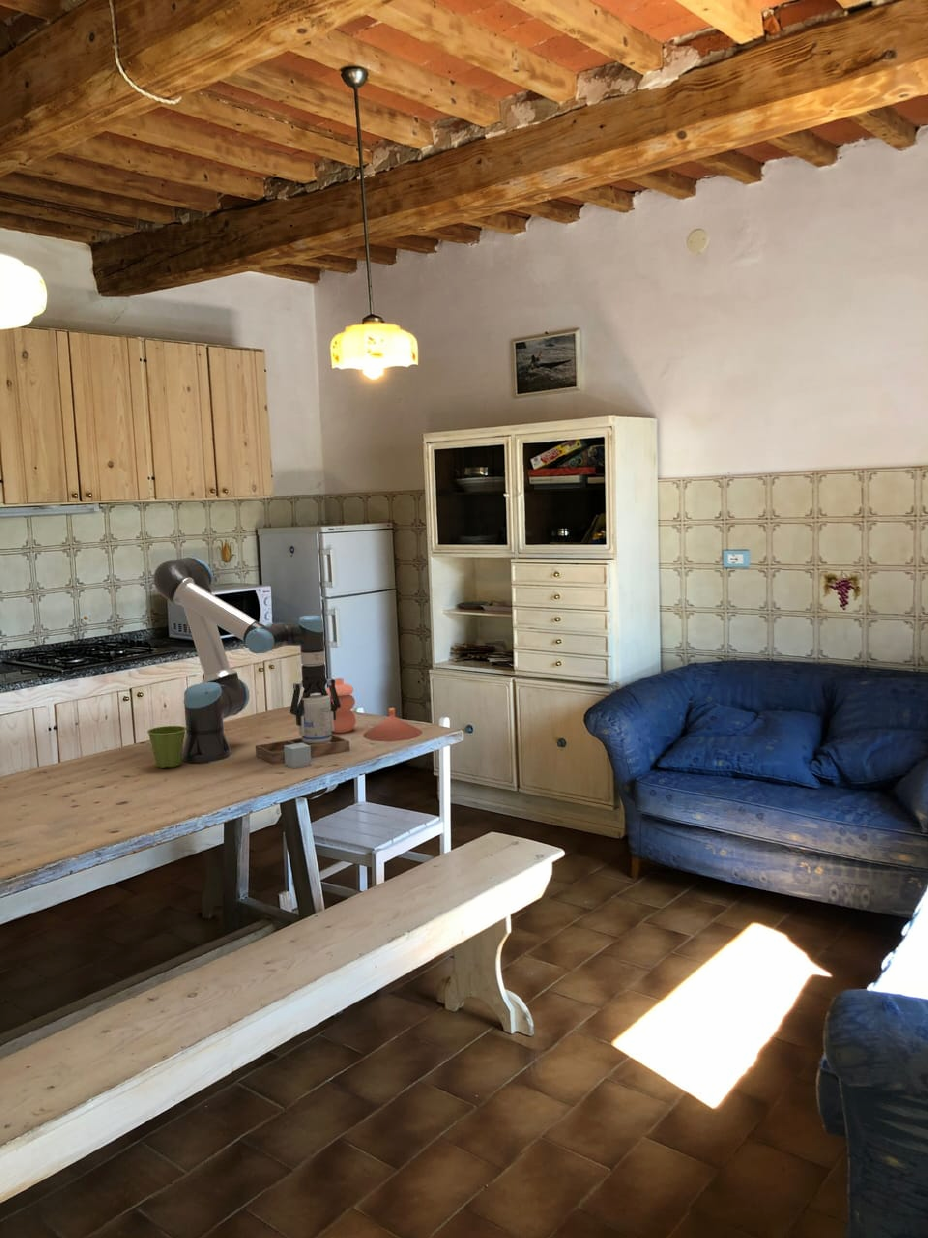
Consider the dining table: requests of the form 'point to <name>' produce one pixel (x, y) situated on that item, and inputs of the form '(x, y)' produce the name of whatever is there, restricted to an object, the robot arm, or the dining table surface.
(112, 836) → the dining table surface
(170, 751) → the plant pot
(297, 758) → the slate block
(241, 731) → the dining table surface
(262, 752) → the caddy
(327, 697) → the supplement tub
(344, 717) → the ceramic vessels
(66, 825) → the dining table surface
